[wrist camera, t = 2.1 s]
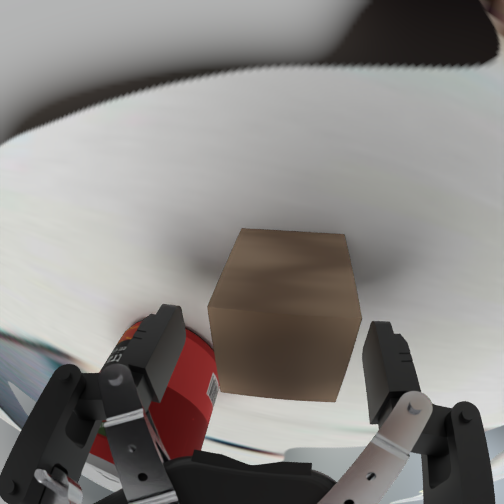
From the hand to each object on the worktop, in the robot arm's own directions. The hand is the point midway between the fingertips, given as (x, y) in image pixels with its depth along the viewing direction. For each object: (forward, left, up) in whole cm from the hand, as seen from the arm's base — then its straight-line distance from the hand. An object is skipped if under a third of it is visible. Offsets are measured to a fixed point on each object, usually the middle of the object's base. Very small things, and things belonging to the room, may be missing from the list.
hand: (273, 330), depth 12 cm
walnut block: (0, 0, -4) cm, 4 cm away
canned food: (+8, +8, -4) cm, 12 cm away
